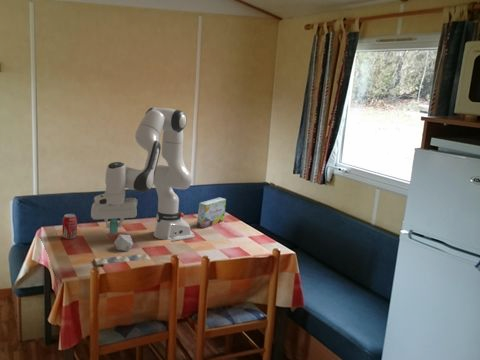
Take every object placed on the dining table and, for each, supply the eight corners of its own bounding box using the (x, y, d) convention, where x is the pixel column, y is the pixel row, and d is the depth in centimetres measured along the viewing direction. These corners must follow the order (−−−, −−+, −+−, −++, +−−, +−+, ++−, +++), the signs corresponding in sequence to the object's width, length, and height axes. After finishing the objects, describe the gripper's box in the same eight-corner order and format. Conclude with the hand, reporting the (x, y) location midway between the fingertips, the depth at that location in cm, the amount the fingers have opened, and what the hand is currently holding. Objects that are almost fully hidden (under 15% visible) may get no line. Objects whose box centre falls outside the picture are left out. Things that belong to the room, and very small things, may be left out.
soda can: (64, 234, 249) (64, 212, 246) (78, 235, 249) (78, 213, 247) (60, 239, 242) (61, 217, 239) (74, 240, 243) (75, 217, 240)
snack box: (203, 229, 279) (205, 204, 275) (196, 226, 282) (198, 202, 278) (224, 221, 296) (226, 198, 293) (217, 219, 299) (219, 196, 296)
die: (122, 257, 229) (135, 240, 230) (108, 246, 230) (121, 229, 231) (126, 256, 237) (138, 240, 239) (112, 246, 238) (125, 230, 239)
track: (147, 255, 232) (147, 253, 231) (151, 261, 226) (152, 259, 225) (93, 261, 220) (93, 258, 219) (96, 267, 214) (96, 264, 213)
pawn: (118, 231, 219) (118, 216, 217) (116, 234, 215) (117, 218, 214) (110, 231, 218) (110, 215, 217) (108, 233, 215) (109, 217, 213)
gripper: (135, 195, 221) (134, 223, 224) (90, 197, 211) (89, 226, 214) (139, 199, 215) (137, 228, 218) (93, 200, 206) (92, 230, 209)
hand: (113, 227), depth 216 cm, fingers closed on pawn, 4 cm apart
